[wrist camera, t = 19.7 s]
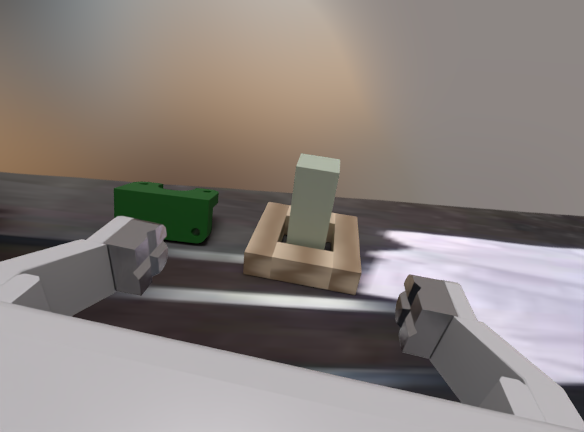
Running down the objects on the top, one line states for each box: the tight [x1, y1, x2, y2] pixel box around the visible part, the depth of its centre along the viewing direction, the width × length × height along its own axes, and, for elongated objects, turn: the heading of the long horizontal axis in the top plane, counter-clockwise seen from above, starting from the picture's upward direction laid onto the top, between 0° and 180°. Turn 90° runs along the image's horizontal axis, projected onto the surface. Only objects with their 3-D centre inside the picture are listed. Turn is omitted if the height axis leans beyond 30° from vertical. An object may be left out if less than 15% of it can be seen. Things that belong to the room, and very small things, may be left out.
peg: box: [286, 154, 340, 250], centre depth 38 cm, size 4×4×12 cm
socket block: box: [243, 202, 361, 295], centre depth 40 cm, size 12×12×3 cm
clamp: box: [114, 182, 219, 243], centre depth 41 cm, size 12×6×9 cm, turn 81°
